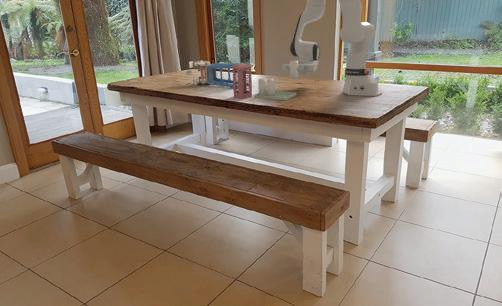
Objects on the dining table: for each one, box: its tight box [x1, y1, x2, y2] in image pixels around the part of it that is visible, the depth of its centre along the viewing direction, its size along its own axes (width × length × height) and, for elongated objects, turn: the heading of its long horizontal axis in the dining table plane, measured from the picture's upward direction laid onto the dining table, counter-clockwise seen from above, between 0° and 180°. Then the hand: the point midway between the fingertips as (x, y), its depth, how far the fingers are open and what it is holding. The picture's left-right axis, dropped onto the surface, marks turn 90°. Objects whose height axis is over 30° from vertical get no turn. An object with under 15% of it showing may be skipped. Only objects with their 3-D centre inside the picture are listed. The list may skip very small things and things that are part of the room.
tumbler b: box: [257, 78, 267, 96], centre depth 222 cm, size 5×5×10 cm
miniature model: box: [231, 62, 253, 100], centre depth 221 cm, size 9×9×20 cm
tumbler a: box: [266, 78, 276, 96], centre depth 219 cm, size 5×5×10 cm
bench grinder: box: [185, 59, 250, 90], centre depth 266 cm, size 17×17×45 cm
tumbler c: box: [289, 60, 299, 80], centre depth 226 cm, size 5×5×10 cm
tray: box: [253, 90, 297, 101], centre depth 222 cm, size 20×14×2 cm
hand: (293, 69), depth 225 cm, fingers closed on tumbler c, 5 cm apart
